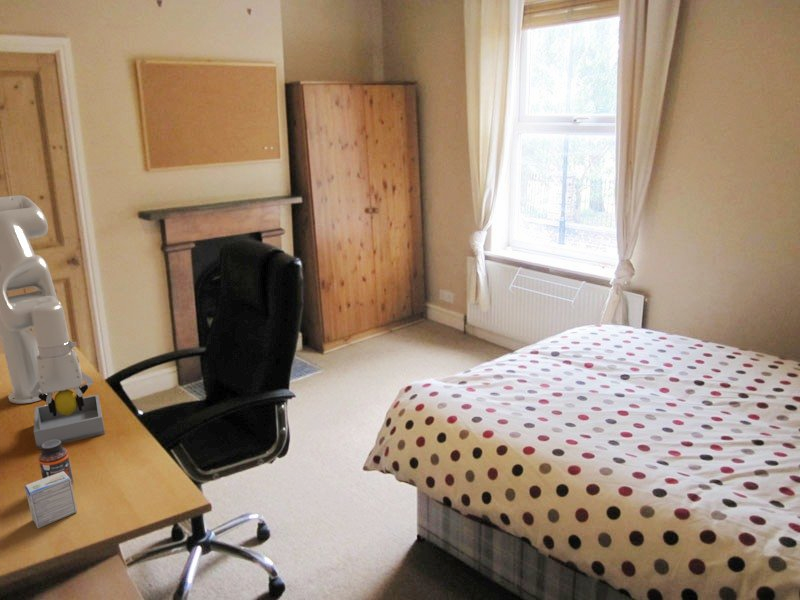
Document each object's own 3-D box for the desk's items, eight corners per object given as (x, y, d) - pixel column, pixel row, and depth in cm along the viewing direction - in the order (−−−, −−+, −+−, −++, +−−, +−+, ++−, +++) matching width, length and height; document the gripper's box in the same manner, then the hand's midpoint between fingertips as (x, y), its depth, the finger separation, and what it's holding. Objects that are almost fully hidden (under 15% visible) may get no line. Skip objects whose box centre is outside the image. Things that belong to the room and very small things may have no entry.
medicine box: (71, 504, 141) (64, 469, 139) (78, 512, 138) (70, 478, 135) (31, 520, 136) (23, 484, 133) (38, 529, 133) (29, 493, 130)
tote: (38, 423, 178) (35, 407, 176) (101, 409, 185) (98, 394, 183) (37, 449, 164) (33, 432, 163) (104, 433, 171) (101, 417, 170)
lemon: (84, 413, 174) (79, 386, 172) (66, 422, 170) (61, 395, 167) (70, 409, 177) (65, 383, 174) (52, 418, 172) (46, 391, 170)
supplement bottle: (54, 497, 144) (45, 453, 140) (39, 489, 147) (30, 446, 143) (79, 484, 149) (70, 441, 145) (64, 477, 152) (55, 434, 148)
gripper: (90, 339, 174) (101, 399, 180) (18, 351, 167) (32, 413, 172) (91, 347, 168) (103, 409, 173) (16, 360, 161) (31, 425, 166)
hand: (67, 411), depth 173 cm, fingers closed on lemon, 5 cm apart
